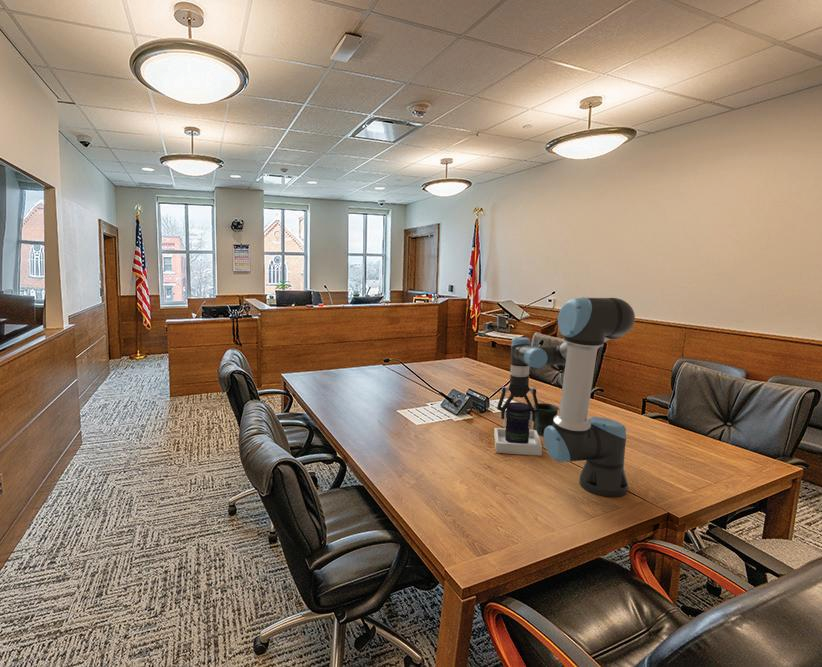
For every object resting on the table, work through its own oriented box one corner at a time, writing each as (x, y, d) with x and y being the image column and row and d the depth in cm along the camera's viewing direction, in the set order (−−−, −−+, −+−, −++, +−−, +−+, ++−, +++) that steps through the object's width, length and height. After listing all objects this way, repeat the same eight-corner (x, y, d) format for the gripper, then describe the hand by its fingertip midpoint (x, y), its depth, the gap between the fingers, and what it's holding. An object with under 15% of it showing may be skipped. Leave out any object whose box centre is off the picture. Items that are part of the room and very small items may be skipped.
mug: (546, 438, 192) (548, 411, 190) (521, 428, 204) (522, 403, 202) (562, 433, 198) (563, 407, 196) (537, 424, 210) (538, 400, 208)
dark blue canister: (529, 445, 177) (531, 409, 175) (505, 443, 179) (506, 408, 177) (528, 436, 187) (529, 403, 185) (504, 434, 189) (506, 401, 187)
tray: (541, 455, 173) (542, 445, 173) (495, 452, 176) (496, 443, 175) (535, 439, 191) (536, 430, 190) (494, 436, 194) (494, 427, 193)
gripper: (546, 374, 181) (543, 425, 184) (491, 371, 185) (490, 422, 188) (549, 378, 174) (546, 431, 177) (492, 375, 177) (490, 428, 180)
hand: (517, 427), depth 182 cm, fingers closed on dark blue canister, 10 cm apart
